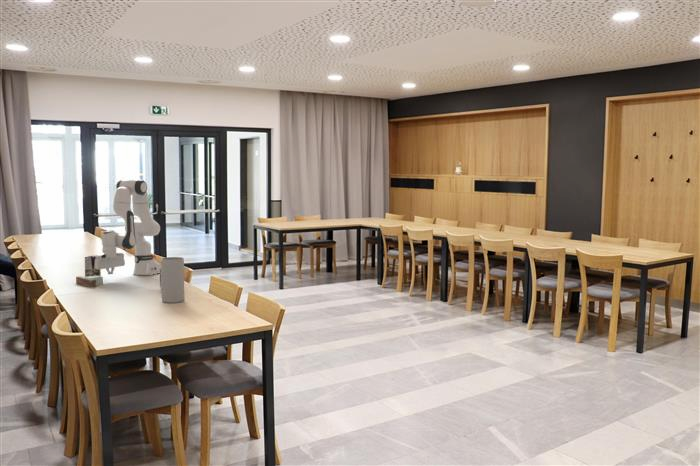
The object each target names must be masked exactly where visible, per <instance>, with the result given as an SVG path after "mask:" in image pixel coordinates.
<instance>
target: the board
mask: <svg viewBox="0 0 700 466" xmlns="http://www.w3.org/2000/svg"><path fill="white" fill-rule="evenodd" d="M75 283H76V285H81V286H85V287H89V288H96V287H97V285H96V280H94V279H90V278H86V277H85V276H81V275H80V276H79V275H78V276H75Z"/></svg>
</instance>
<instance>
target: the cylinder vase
mask: <svg viewBox="0 0 700 466" xmlns="http://www.w3.org/2000/svg"><path fill="white" fill-rule="evenodd" d="M160 265H161V268H162V289H161V301H162V302H163V303H165V302H166V303H167V304H177V303H176V302H178V303H181V302H184V301H185V258H184V257H180V256H179V257H178V256H171V257H170V256H169V257H161V259H160Z"/></svg>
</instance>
